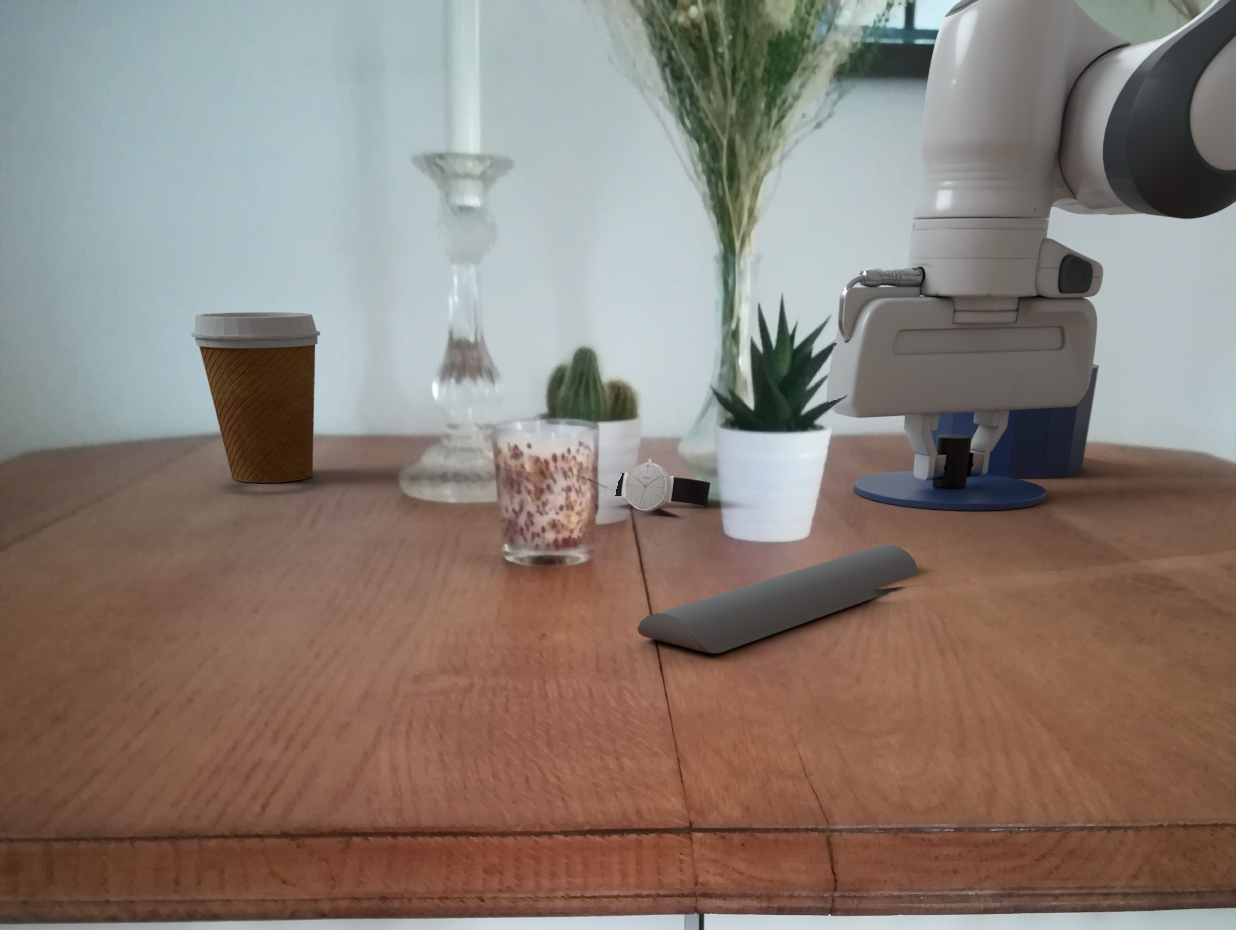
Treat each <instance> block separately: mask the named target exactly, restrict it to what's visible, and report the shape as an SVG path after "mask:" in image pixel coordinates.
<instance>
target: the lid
mask: <svg viewBox="0 0 1236 930" xmlns="http://www.w3.org/2000/svg"><path fill="white" fill-rule="evenodd" d="M971 440H972V437H971V436H968V435H962V434H941V435H938V436H937V444H936V451H937V453H941V454H945V455H947V458H946V465H945V466H944V470H945V475H944V477H943V478H942V479H937V480H926V481H924V480H920V479H916V478H915V477H914V473H913V470H907V471H891V472H890V471H889V472H883V473H882V472H881V473H875V474H869V475H866V476H862V477H859V478H857V479H855V481H853V492H854V493H855V494H856V495H858V496H859V497H863V498H865V499H868V500H871V501H874V502H878V503H884V504H888V505H893V506H900V507H906V508H907V507H908V508H916V509H924V510H925V509H927V510H939V511H961V512H962V511H963V512H964V511H965V512H976V511H977V512H978V511H979V512H985V511H1005V510H1014V509H1015V510H1016V509H1017V510H1018V509H1023V508H1029V507H1033V506H1037V505H1040V504H1041V503H1043V502H1045V500H1046V499H1047V489H1046V488H1045V487H1044V486H1042V485H1039V484H1037V483H1034V482H1031V481H1027V480H1025V479H1015V478H1009V477H1003V476H996V475H988V474H986V475H985V476H979V477H967V473H968V465H969V457H970V449H971Z"/></svg>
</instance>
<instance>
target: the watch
mask: <svg viewBox="0 0 1236 930" xmlns="http://www.w3.org/2000/svg"><path fill="white" fill-rule="evenodd" d="M621 473H622V476H621V478H620V480H619V481H618V486H617V489H616V495H615V496H622V498H627V500H626V501H628V503H629V504H630V505H631V506H632V507H633V508H634V509H636V510H638V511H639V512H640V511H641V512H645V513H648V512H649V513H650V512H654V511H656V510H658V509H660V507H662V506H663V505H664V504H665V503H668V504H671V503H672V502H674V503H682V504H683V503H684V504H691V505H698V506H704V507H707V505H708V501H709V495H710V494H709V493H710V489H711V482H709V481H705V480H700V479H692V478H685V477H675V476H674V475H669V474H668V473H667V471H666V470H665V469H664V468H663V467H662V466H660V465H659V464H657V463H654V459H653V458H648V462H647V461H646V462H644V463H640V464H637V465H636V466H634V467H633V468H632V469H631V470H630V471H628V472H626V471H624V472H621Z"/></svg>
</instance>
